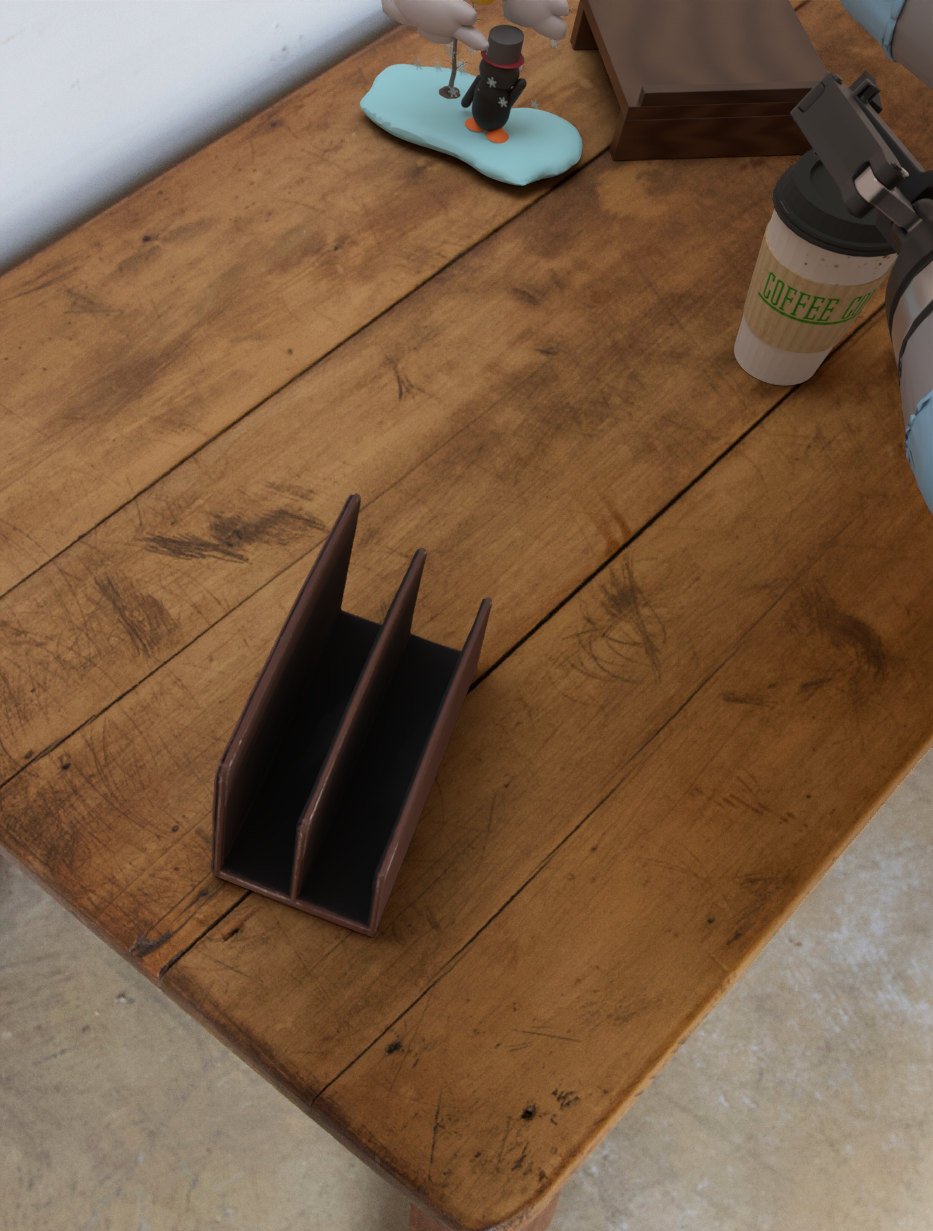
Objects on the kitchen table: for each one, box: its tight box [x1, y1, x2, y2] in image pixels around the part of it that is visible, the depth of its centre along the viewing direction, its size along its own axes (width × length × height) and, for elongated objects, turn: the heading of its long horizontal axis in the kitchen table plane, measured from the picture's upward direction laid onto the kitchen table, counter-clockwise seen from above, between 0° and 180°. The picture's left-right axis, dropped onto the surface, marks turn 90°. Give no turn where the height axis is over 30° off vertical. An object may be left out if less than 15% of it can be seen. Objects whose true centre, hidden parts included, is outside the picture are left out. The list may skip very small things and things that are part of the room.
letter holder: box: [210, 492, 493, 938], centre depth 70 cm, size 10×20×14 cm, turn 157°
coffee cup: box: [733, 149, 898, 386], centre depth 89 cm, size 10×10×15 cm
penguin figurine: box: [359, 0, 584, 187], centre depth 103 cm, size 20×11×15 cm, turn 50°
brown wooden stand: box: [569, 0, 828, 161], centre depth 110 cm, size 18×18×6 cm
